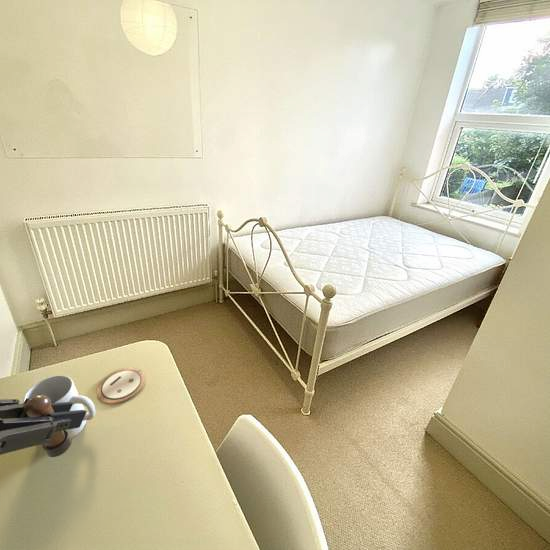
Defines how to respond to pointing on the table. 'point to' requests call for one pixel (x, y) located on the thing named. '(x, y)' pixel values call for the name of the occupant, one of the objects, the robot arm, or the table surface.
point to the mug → (63, 397)
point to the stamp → (59, 439)
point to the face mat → (121, 385)
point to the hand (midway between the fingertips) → (74, 414)
